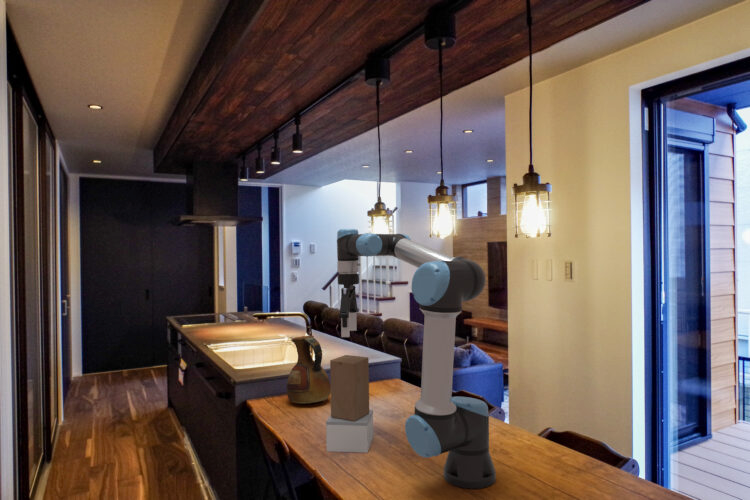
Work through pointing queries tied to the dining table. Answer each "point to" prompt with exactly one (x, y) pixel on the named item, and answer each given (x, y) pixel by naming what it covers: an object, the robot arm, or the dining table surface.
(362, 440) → the base brick
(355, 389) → the wooden block
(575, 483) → the dining table surface
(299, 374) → the ceramic pitcher
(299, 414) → the dining table surface
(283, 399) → the dining table surface
